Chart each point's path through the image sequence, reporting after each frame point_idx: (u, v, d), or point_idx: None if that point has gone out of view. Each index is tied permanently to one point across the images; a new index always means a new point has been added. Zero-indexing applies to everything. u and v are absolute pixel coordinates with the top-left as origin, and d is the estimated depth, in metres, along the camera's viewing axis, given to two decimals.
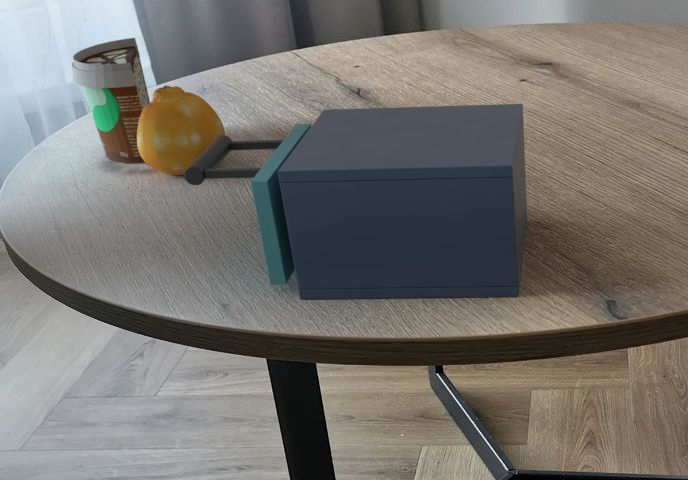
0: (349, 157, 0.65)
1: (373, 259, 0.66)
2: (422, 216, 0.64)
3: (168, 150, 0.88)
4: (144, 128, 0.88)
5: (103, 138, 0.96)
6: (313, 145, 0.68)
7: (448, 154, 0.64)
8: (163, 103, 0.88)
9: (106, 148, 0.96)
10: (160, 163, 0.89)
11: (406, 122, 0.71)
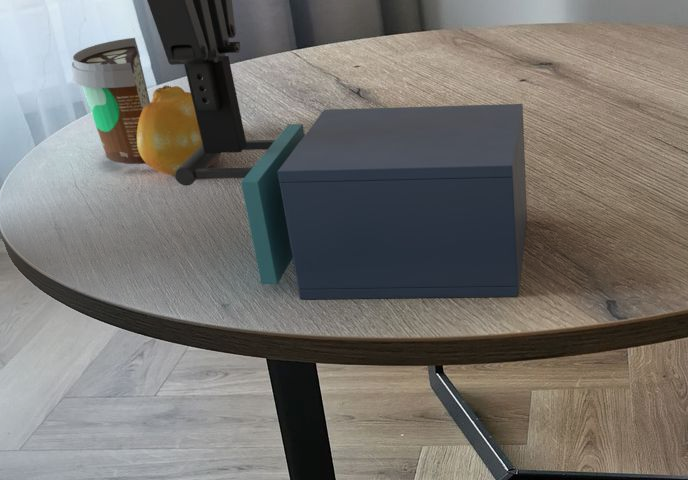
0: (349, 157, 0.65)
1: (373, 259, 0.66)
2: (422, 216, 0.64)
3: (168, 150, 0.88)
4: (144, 128, 0.88)
5: (103, 138, 0.96)
6: (313, 145, 0.68)
7: (448, 154, 0.64)
8: (163, 103, 0.88)
9: (106, 148, 0.96)
10: (160, 163, 0.89)
11: (406, 122, 0.71)
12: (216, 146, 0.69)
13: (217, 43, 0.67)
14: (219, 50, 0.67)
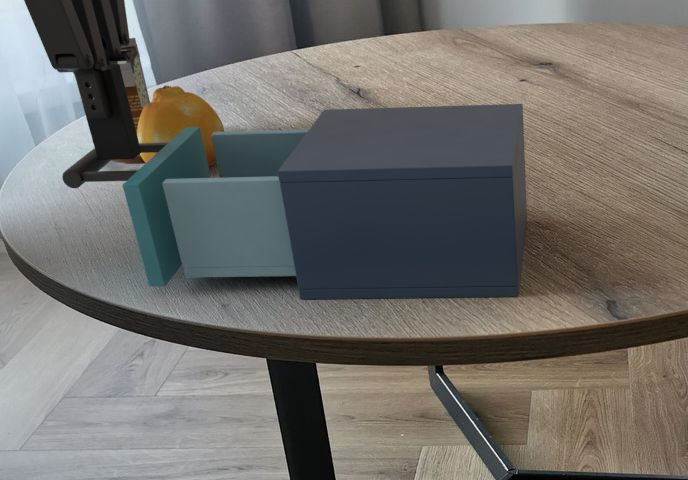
0: (349, 157, 0.65)
1: (373, 259, 0.66)
2: (422, 216, 0.64)
3: None
4: (144, 128, 0.88)
5: None
6: (313, 145, 0.68)
7: (448, 154, 0.64)
8: (163, 103, 0.88)
9: None
10: None
11: (406, 122, 0.71)
12: (109, 153, 0.70)
13: (108, 51, 0.68)
14: (110, 58, 0.68)
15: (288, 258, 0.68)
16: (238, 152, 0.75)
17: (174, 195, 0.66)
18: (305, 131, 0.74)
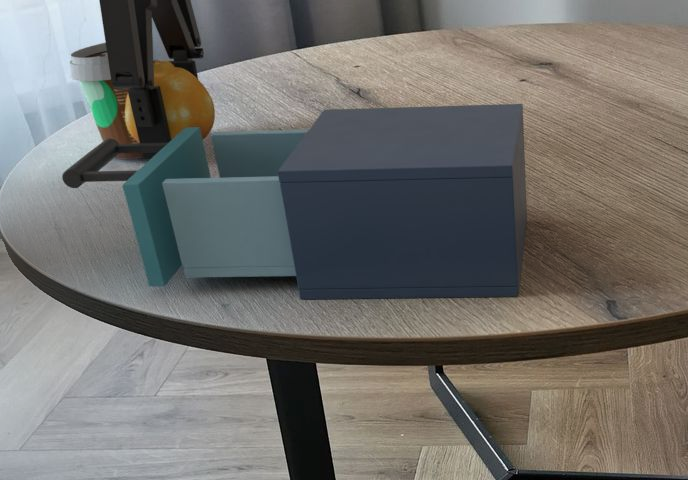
0: (349, 157, 0.65)
1: (373, 259, 0.66)
2: (422, 216, 0.64)
3: None
4: None
5: (103, 135, 0.95)
6: (313, 145, 0.68)
7: (448, 154, 0.64)
8: None
9: None
10: None
11: (406, 122, 0.71)
12: (152, 154, 0.88)
13: (187, 53, 0.93)
14: (189, 58, 0.93)
15: (288, 258, 0.68)
16: (238, 152, 0.75)
17: (174, 195, 0.66)
18: (305, 131, 0.74)
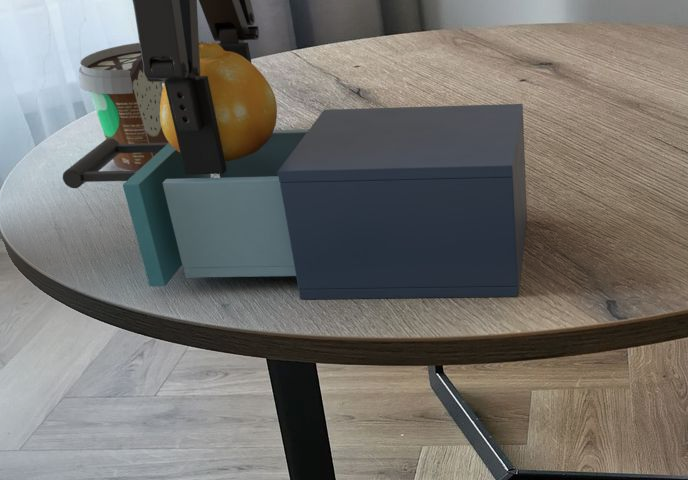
0: (349, 157, 0.65)
1: (373, 259, 0.66)
2: (422, 216, 0.64)
3: None
4: None
5: None
6: (313, 145, 0.68)
7: (448, 154, 0.64)
8: None
9: None
10: None
11: (406, 122, 0.71)
12: (197, 167, 0.66)
13: (238, 33, 0.71)
14: (240, 39, 0.71)
15: (288, 258, 0.68)
16: None
17: (174, 195, 0.66)
18: (305, 131, 0.74)
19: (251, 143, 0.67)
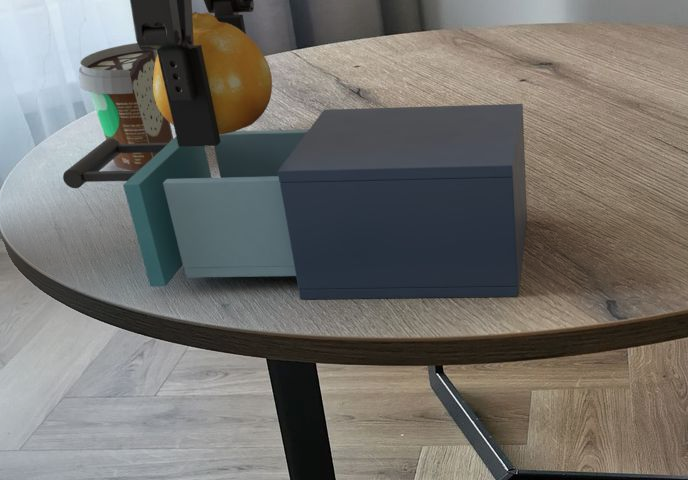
0: (349, 157, 0.65)
1: (373, 259, 0.66)
2: (422, 216, 0.64)
3: None
4: None
5: None
6: (313, 145, 0.68)
7: (448, 154, 0.64)
8: None
9: None
10: None
11: (406, 122, 0.71)
12: (191, 139, 0.65)
13: (232, 5, 0.69)
14: (235, 11, 0.70)
15: (289, 258, 0.68)
16: (239, 152, 0.75)
17: (175, 195, 0.66)
18: (306, 131, 0.74)
19: (246, 116, 0.66)
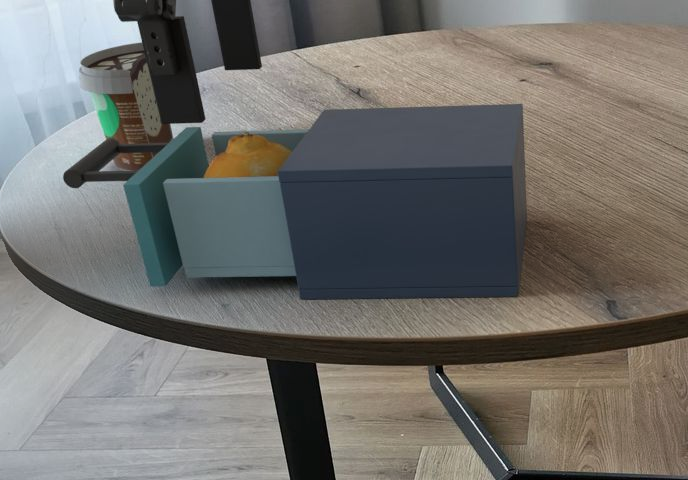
0: (349, 157, 0.65)
1: (373, 259, 0.66)
2: (422, 216, 0.64)
3: None
4: None
5: None
6: (313, 145, 0.68)
7: (448, 154, 0.64)
8: (231, 157, 0.68)
9: None
10: None
11: (406, 122, 0.71)
12: (174, 116, 0.62)
13: None
14: None
15: (289, 258, 0.68)
16: None
17: (175, 195, 0.66)
18: (306, 131, 0.74)
19: None
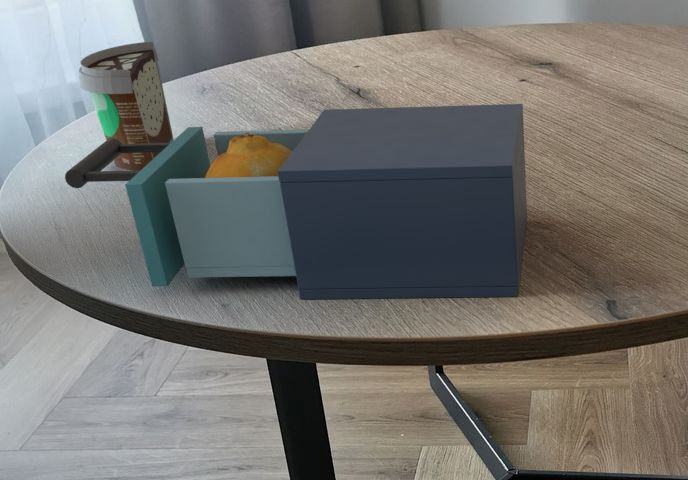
0: (349, 157, 0.65)
1: (373, 259, 0.66)
2: (422, 216, 0.64)
3: None
4: None
5: None
6: (313, 145, 0.68)
7: (448, 154, 0.64)
8: (232, 157, 0.68)
9: None
10: None
11: (406, 122, 0.71)
12: None
13: None
14: None
15: (291, 258, 0.68)
16: None
17: (177, 195, 0.66)
18: (307, 131, 0.74)
19: None
